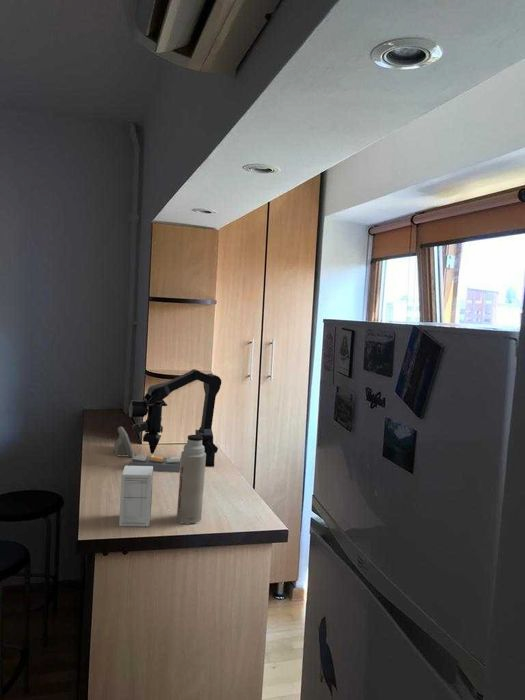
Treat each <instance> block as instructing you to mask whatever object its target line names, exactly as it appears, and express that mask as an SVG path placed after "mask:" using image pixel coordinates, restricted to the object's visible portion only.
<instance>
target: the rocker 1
mask: <svg viewBox="0 0 525 700" xmlns="http://www.w3.org/2000/svg"><path fill="white" fill-rule="evenodd" d="M132 459H136V460H142V461H145V460H146V455H142V454H137V453H134V455H133V457H131V460H132Z"/></svg>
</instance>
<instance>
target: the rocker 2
mask: <svg viewBox="0 0 525 700" xmlns="http://www.w3.org/2000/svg"><path fill="white" fill-rule="evenodd" d="M166 458H167V462H178V461H180V458H181V455H180V456H167V457H166Z"/></svg>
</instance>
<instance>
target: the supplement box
mask: <svg viewBox="0 0 525 700" xmlns="http://www.w3.org/2000/svg"><path fill="white" fill-rule="evenodd" d="M153 477H154V471H153V466H131V465H125V466H124V468H123V471H122V473H121V480H120V481H121V483H120V484H121V485H120V503H119V517H118V518H119V521H118V526H119V527H143V528H144V527H145V526H146V527H148V526H149V527H150V524H151V523H150V522H151V516H152V505H153V504H152V503H153V481H154V480H153V479H154V478H153ZM149 527H148V528H149Z"/></svg>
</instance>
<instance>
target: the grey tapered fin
mask: <svg viewBox="0 0 525 700" xmlns="http://www.w3.org/2000/svg"><path fill="white" fill-rule="evenodd" d="M117 432H118V438H117V439H116V440H115V441H114V443H113V444H114V447H113V448H114V449H113V450H115V451H114V453H115V452H116V453H115V455H116V454H117V455H128V456H127V457H129V458H133V455H134V454H135V452H134V449H133V447H132V444H131V441H130V438H129V435H128V433H127V431H126V430H125V428H124V427H123V426H119V427H118V428H117ZM117 455H116V456H117Z"/></svg>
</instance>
